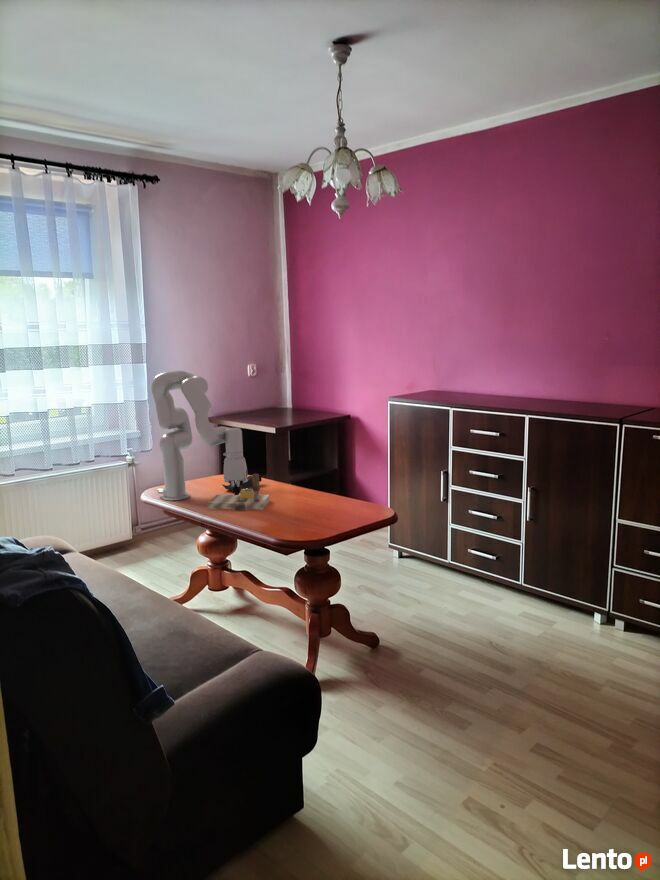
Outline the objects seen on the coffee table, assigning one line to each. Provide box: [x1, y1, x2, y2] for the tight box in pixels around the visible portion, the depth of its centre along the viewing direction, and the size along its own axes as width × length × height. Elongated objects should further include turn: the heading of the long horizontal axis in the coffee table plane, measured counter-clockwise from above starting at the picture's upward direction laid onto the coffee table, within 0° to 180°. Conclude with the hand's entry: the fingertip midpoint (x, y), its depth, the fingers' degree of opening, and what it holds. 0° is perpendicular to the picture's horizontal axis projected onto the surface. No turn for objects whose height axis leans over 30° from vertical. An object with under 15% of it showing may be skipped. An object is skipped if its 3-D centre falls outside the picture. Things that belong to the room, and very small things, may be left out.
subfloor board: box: [206, 494, 271, 512], centre depth 291 cm, size 25×17×3 cm
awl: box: [251, 473, 261, 501], centre depth 286 cm, size 3×3×12 cm
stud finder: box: [239, 488, 254, 498], centre depth 294 cm, size 6×5×3 cm
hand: (236, 494), depth 294 cm, fingers closed
